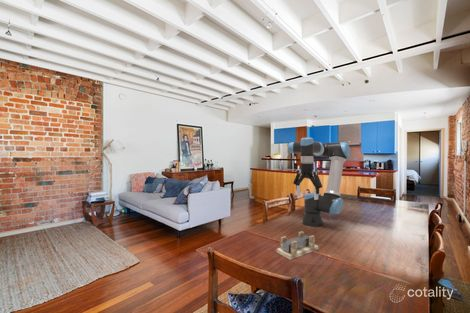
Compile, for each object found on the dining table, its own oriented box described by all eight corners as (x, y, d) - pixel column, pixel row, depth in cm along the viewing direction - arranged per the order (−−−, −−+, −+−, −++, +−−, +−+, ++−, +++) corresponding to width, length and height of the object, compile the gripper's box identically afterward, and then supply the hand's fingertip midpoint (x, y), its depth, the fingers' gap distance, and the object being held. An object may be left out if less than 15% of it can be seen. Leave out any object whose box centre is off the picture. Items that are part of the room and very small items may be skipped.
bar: (304, 242, 131) (304, 234, 131) (311, 245, 127) (311, 237, 127) (282, 250, 121) (282, 241, 121) (288, 253, 117) (288, 244, 117)
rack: (304, 243, 134) (304, 230, 134) (318, 249, 126) (318, 235, 126) (276, 252, 123) (276, 238, 122) (290, 259, 114) (290, 244, 114)
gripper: (287, 162, 146) (287, 194, 146) (320, 164, 125) (320, 202, 125) (295, 162, 150) (295, 193, 150) (328, 163, 129) (328, 200, 129)
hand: (307, 197), depth 138 cm, fingers open, 13 cm apart
